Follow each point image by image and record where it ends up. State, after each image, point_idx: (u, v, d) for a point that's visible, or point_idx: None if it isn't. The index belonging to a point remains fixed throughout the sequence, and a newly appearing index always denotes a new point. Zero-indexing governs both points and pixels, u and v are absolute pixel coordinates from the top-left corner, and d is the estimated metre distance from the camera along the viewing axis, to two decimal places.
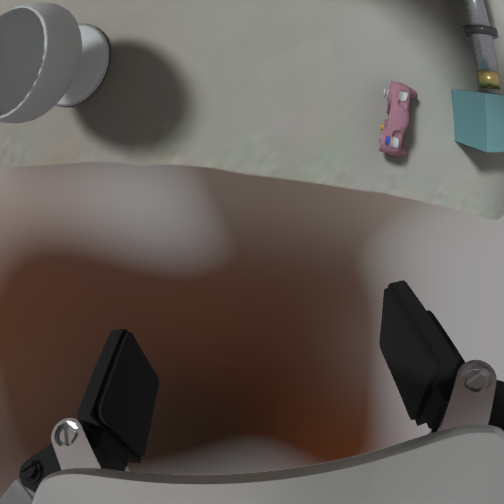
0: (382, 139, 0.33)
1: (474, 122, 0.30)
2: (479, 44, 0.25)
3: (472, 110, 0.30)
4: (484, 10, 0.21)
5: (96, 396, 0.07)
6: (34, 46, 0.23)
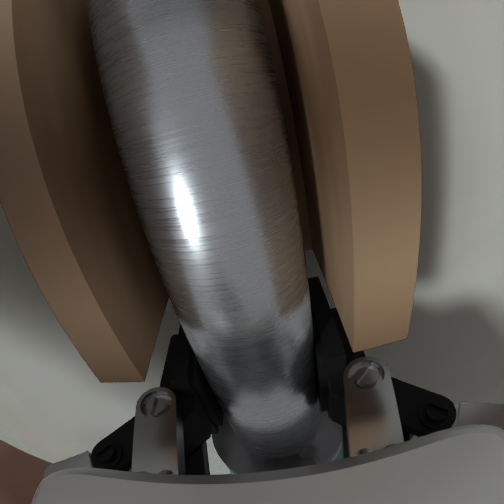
0: None
1: None
2: None
3: None
4: (280, 423, 0.08)
5: (188, 360, 0.08)
6: None
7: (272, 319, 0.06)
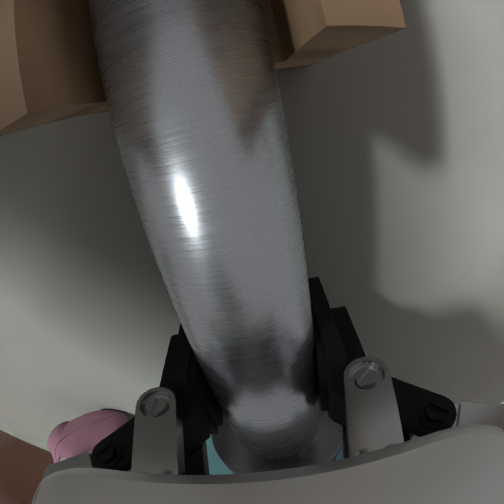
0: None
1: None
2: None
3: None
4: (280, 422, 0.08)
5: (188, 360, 0.08)
6: None
7: (273, 318, 0.06)
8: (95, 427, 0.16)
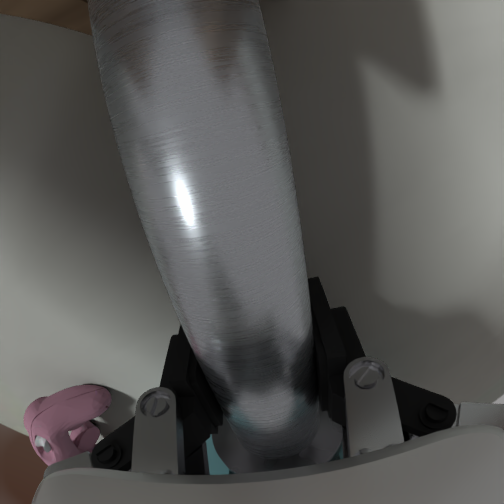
0: None
1: None
2: None
3: None
4: (280, 423, 0.08)
5: (188, 360, 0.08)
6: None
7: (272, 319, 0.06)
8: (74, 402, 0.15)
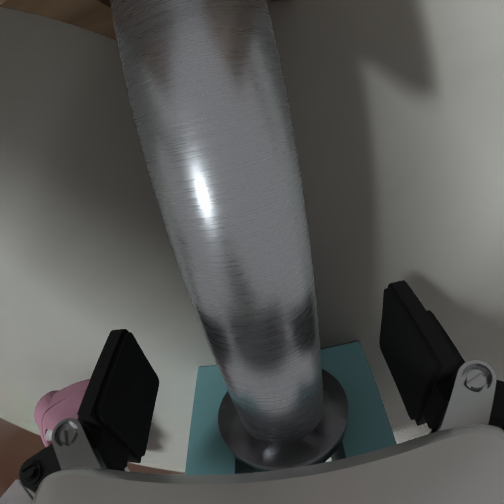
0: None
1: None
2: None
3: None
4: (286, 404, 0.09)
5: (96, 396, 0.07)
6: None
7: (280, 296, 0.07)
8: None
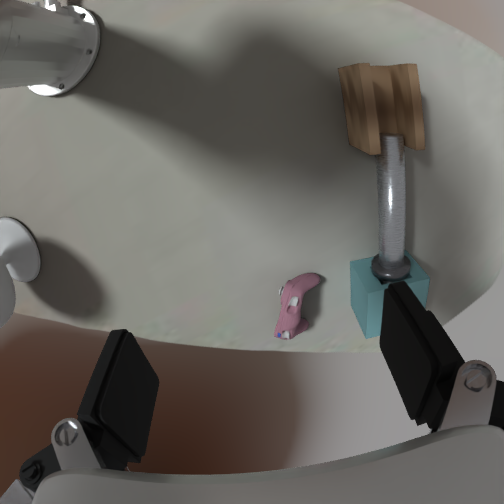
0: (275, 333, 0.42)
1: (360, 307, 0.40)
2: None
3: (360, 296, 0.39)
4: (399, 249, 0.35)
5: (96, 396, 0.07)
6: None
7: (402, 217, 0.33)
8: (308, 278, 0.41)
